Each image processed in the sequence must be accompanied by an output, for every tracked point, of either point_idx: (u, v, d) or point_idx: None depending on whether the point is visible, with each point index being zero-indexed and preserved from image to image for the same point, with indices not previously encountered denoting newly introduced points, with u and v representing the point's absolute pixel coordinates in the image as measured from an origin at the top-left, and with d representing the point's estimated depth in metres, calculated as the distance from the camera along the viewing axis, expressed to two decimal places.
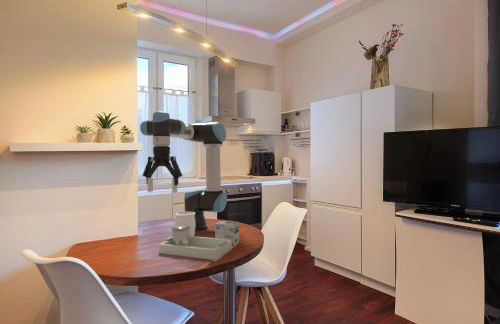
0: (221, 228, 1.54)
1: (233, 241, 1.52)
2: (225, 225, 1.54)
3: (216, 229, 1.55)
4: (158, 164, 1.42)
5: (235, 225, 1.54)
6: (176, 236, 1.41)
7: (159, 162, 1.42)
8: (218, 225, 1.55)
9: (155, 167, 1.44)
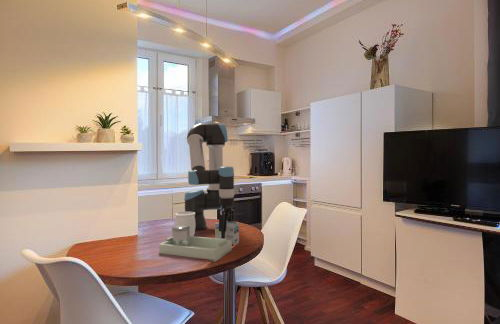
0: None
1: (233, 241, 1.52)
2: None
3: (216, 228, 1.55)
4: None
5: (235, 225, 1.54)
6: (176, 236, 1.41)
7: None
8: (218, 225, 1.55)
9: (228, 216, 1.59)
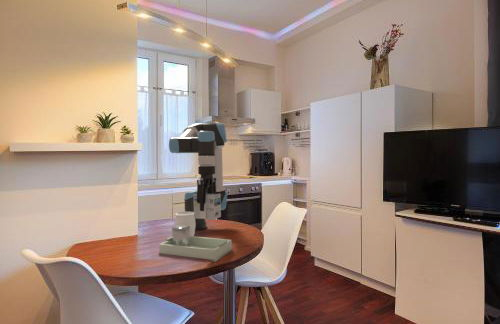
0: None
1: (213, 214, 1.35)
2: None
3: (194, 201, 1.38)
4: None
5: (216, 196, 1.37)
6: (176, 236, 1.41)
7: None
8: None
9: (208, 188, 1.42)
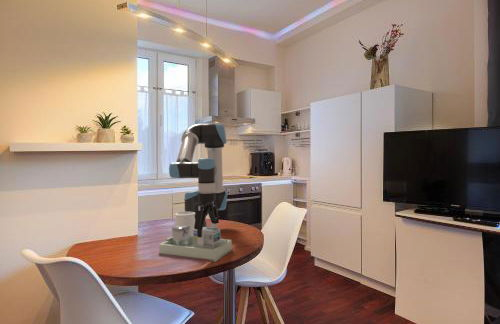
0: None
1: None
2: (204, 232, 1.36)
3: (194, 235, 1.38)
4: None
5: (215, 232, 1.36)
6: (176, 236, 1.41)
7: None
8: (196, 231, 1.37)
9: (209, 213, 1.43)
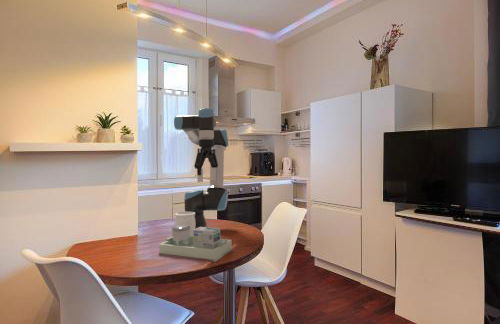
0: (200, 235, 1.37)
1: None
2: (204, 232, 1.36)
3: (194, 235, 1.38)
4: None
5: (215, 232, 1.36)
6: (176, 236, 1.41)
7: None
8: (196, 231, 1.37)
9: (209, 158, 1.61)
